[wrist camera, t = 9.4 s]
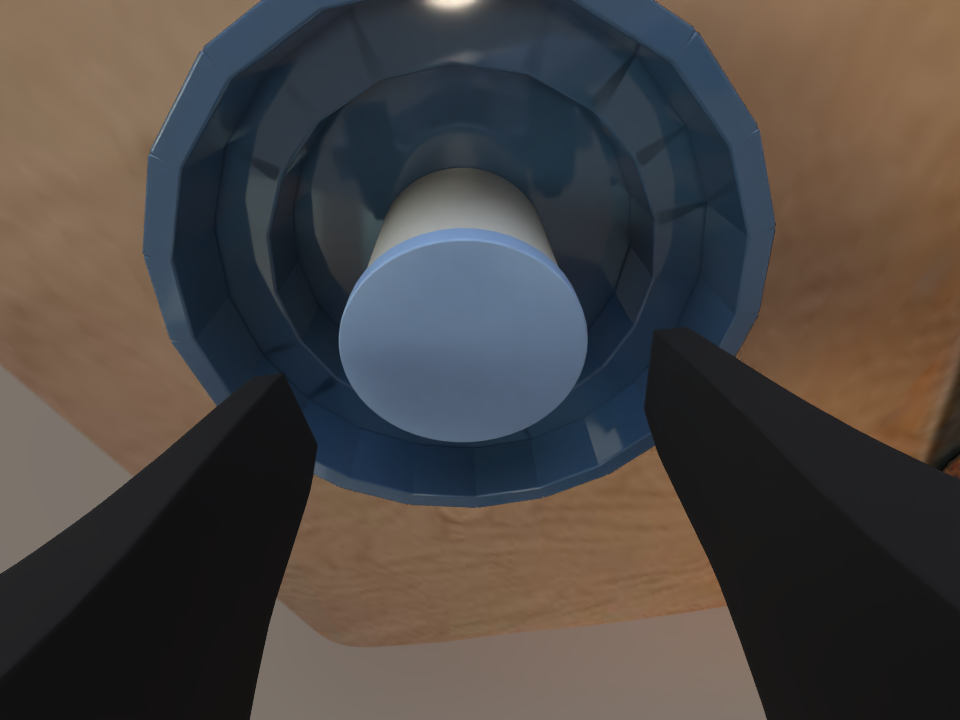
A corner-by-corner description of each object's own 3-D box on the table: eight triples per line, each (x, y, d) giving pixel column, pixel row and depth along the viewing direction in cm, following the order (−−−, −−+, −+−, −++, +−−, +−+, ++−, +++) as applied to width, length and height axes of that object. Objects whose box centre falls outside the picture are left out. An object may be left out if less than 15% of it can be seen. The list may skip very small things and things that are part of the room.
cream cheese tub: (584, 247, 15) (638, 348, 11) (468, 351, 17) (471, 472, 13) (455, 116, 13) (452, 176, 8) (340, 258, 15) (289, 364, 10)
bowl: (768, 231, 16) (875, 309, 12) (475, 453, 21) (479, 555, 17) (439, -228, 9) (425, -405, 5) (156, 258, 15) (49, 347, 11)
